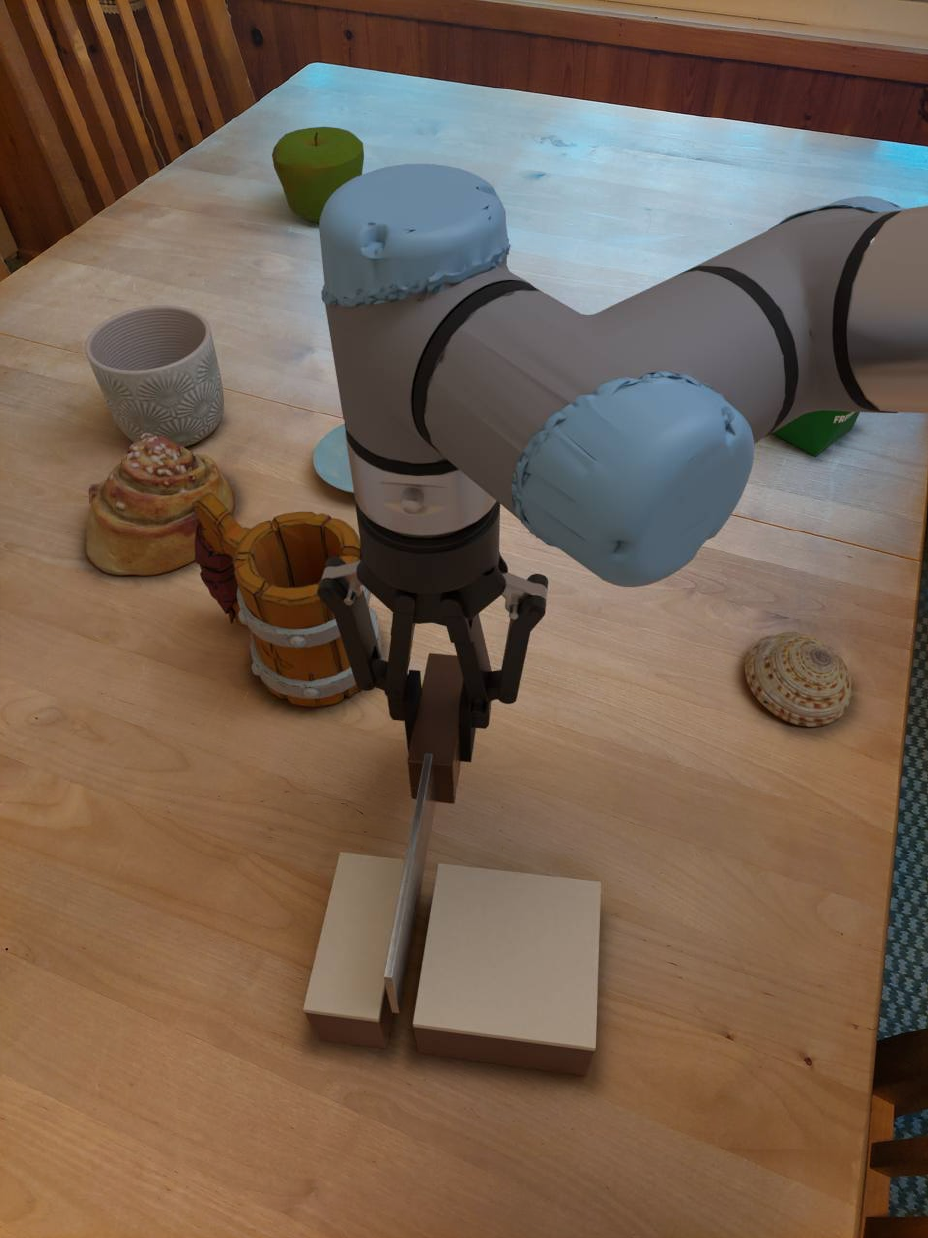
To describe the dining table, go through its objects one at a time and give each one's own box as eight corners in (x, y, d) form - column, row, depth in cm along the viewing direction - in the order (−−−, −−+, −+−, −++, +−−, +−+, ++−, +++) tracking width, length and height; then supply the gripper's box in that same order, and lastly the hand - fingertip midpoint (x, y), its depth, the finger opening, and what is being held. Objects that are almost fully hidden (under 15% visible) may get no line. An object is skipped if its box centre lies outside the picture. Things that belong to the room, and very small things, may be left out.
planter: (207, 468, 94) (180, 378, 85) (97, 454, 95) (61, 365, 87) (249, 398, 102) (228, 310, 93) (147, 386, 103) (118, 299, 95)
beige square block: (586, 1076, 55) (595, 1048, 51) (418, 1053, 56) (412, 1024, 52) (592, 919, 62) (601, 881, 57) (441, 901, 63) (438, 863, 58)
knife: (431, 693, 67) (428, 641, 63) (471, 697, 67) (470, 645, 62) (370, 1010, 53) (359, 974, 48) (421, 1017, 52) (415, 981, 48)
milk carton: (793, 393, 101) (848, 215, 85) (865, 429, 96) (937, 249, 81) (746, 426, 97) (795, 247, 82) (819, 465, 92) (885, 283, 77)
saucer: (379, 525, 88) (376, 507, 86) (292, 478, 92) (288, 460, 91) (452, 462, 94) (452, 444, 92) (367, 421, 98) (365, 403, 97)
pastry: (245, 473, 93) (229, 409, 87) (213, 578, 83) (192, 514, 77) (119, 471, 94) (94, 407, 87) (73, 576, 84) (41, 512, 78)
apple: (369, 192, 135) (361, 110, 126) (369, 230, 127) (360, 146, 119) (286, 195, 135) (272, 114, 126) (280, 234, 127) (265, 150, 118)
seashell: (785, 608, 77) (870, 637, 71) (790, 662, 80) (871, 694, 73) (719, 654, 74) (802, 689, 67) (726, 708, 76) (806, 746, 70)
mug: (340, 732, 72) (313, 608, 61) (182, 655, 77) (130, 528, 66) (410, 640, 78) (397, 512, 67) (259, 575, 84) (223, 446, 72)
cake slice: (386, 1049, 56) (378, 1019, 52) (316, 1040, 57) (302, 1009, 52) (413, 897, 63) (407, 859, 58) (350, 890, 63) (339, 851, 59)
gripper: (255, 532, 45) (320, 776, 62) (581, 558, 43) (551, 801, 61) (293, 437, 49) (343, 689, 67) (587, 458, 48) (558, 710, 66)
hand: (442, 742), depth 64 cm, fingers closed on knife, 3 cm apart
